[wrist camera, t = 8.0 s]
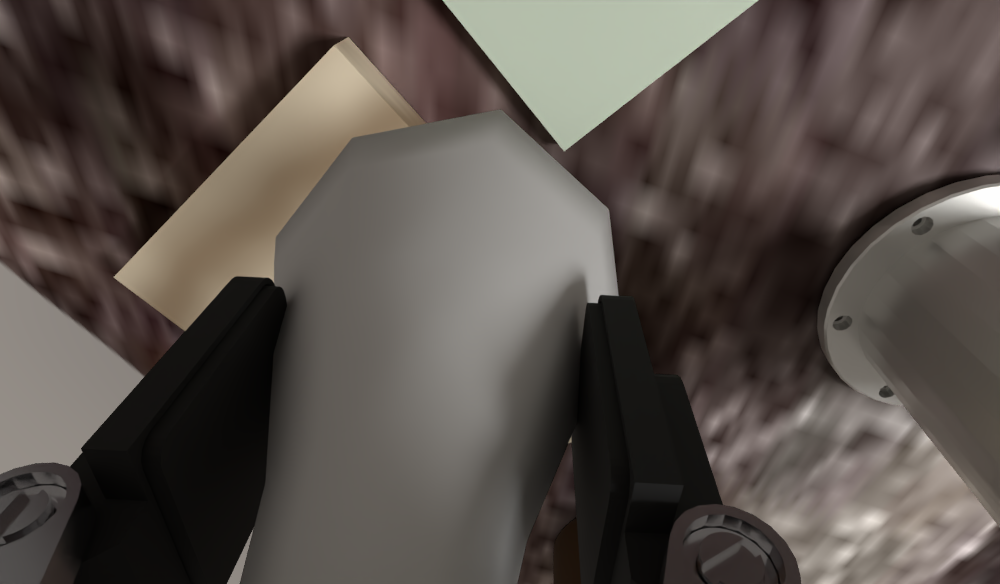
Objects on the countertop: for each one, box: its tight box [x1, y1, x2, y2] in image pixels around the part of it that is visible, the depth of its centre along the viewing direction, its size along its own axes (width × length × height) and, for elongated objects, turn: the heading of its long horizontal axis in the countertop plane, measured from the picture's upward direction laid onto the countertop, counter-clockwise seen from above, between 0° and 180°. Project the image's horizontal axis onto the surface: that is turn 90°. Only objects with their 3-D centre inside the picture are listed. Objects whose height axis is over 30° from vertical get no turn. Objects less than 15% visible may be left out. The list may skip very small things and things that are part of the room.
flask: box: [240, 109, 619, 584], centre depth 9 cm, size 7×7×10 cm
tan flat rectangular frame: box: [114, 37, 572, 444], centre depth 30 cm, size 22×16×2 cm
